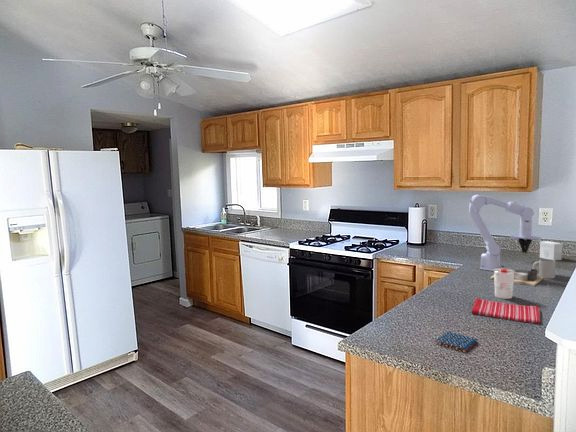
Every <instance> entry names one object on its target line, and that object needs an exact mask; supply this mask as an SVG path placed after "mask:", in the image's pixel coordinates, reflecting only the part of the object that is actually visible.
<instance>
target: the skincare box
mask: <svg viewBox="0 0 576 432" xmlns="http://www.w3.org/2000/svg"><path fill="white" fill-rule="evenodd" d="M539 242H540V243H539V258H540V259H551V260H555V261H562V259H563V258H562V257H563V256H562V255H563V243H561V242H554V241H549V240H545V241H543V240H541V241H539Z"/></svg>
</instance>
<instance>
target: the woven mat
mask: <svg viewBox="0 0 576 432" xmlns="http://www.w3.org/2000/svg"><path fill="white" fill-rule="evenodd" d="M478 340H479V339H478V338H474V337H470V336H466V335H463V334H461V333H456V332H453V331H446V333H444V334H443V335H440V336H439V337H438V338H436V339H435V340H434V342H435V345H439V346H442V347H444V346H445V347H446V348H449V349H452V350H455V351H459V352H461V351H462V352H463V353H466V352H468V351H469V350H470V349H472V348H473V346H475V345H476V344H478V343H479V342H478Z"/></svg>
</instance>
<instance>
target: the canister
mask: <svg viewBox="0 0 576 432" xmlns="http://www.w3.org/2000/svg"><path fill="white" fill-rule="evenodd" d="M514 272H515V271H514V270H511V269H505V268H497V269H494V271H493V275H494V280H493V283H494V284H493V285H494V297H495V298H499V299H503V300H509V299H512V298H513V293H514V284H515V283H514Z"/></svg>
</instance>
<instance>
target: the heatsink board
mask: <svg viewBox="0 0 576 432" xmlns="http://www.w3.org/2000/svg"><path fill="white" fill-rule="evenodd" d="M500 267H505V265H500ZM500 267H498V268H500ZM537 271H538V269H537V268H536V269H533V268H531V269H530V270H528V273H522V272H514V284H519V285H525V286H530V287H535V286H536V285H537V284H538V283H540V282H541V281H543V279H544V278H543V277H539V275H538V274H537ZM489 279H490V280H493V281H494V274H493V275H491V276H490V278H489Z"/></svg>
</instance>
